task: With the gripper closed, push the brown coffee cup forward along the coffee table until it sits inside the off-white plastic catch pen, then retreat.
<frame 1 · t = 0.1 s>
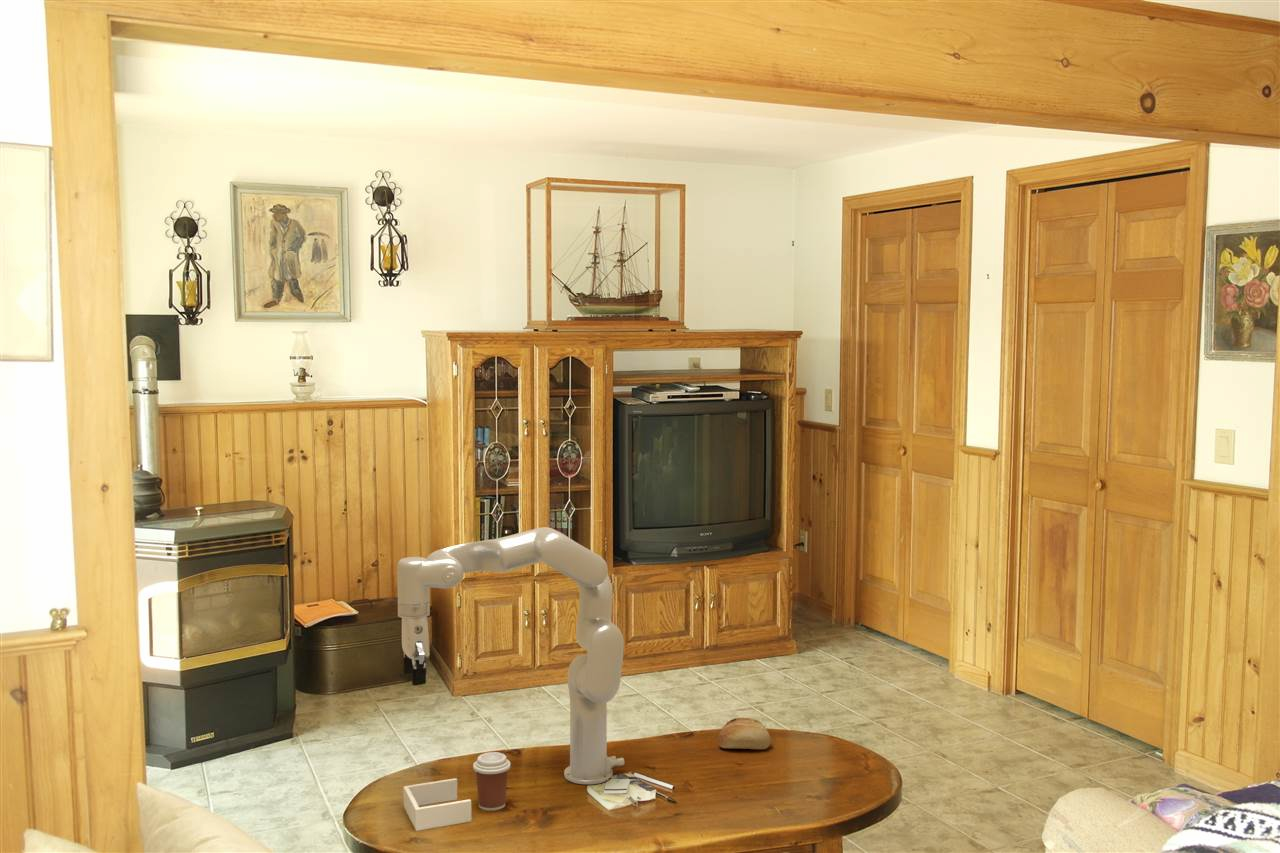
hand: (414, 678, 266), 31 cm above the table, fingers open, 9 cm apart
coffee cup: (492, 805, 268), on the table
catch pen: (435, 814, 263), on the table
bread roll: (743, 748, 307), on the table
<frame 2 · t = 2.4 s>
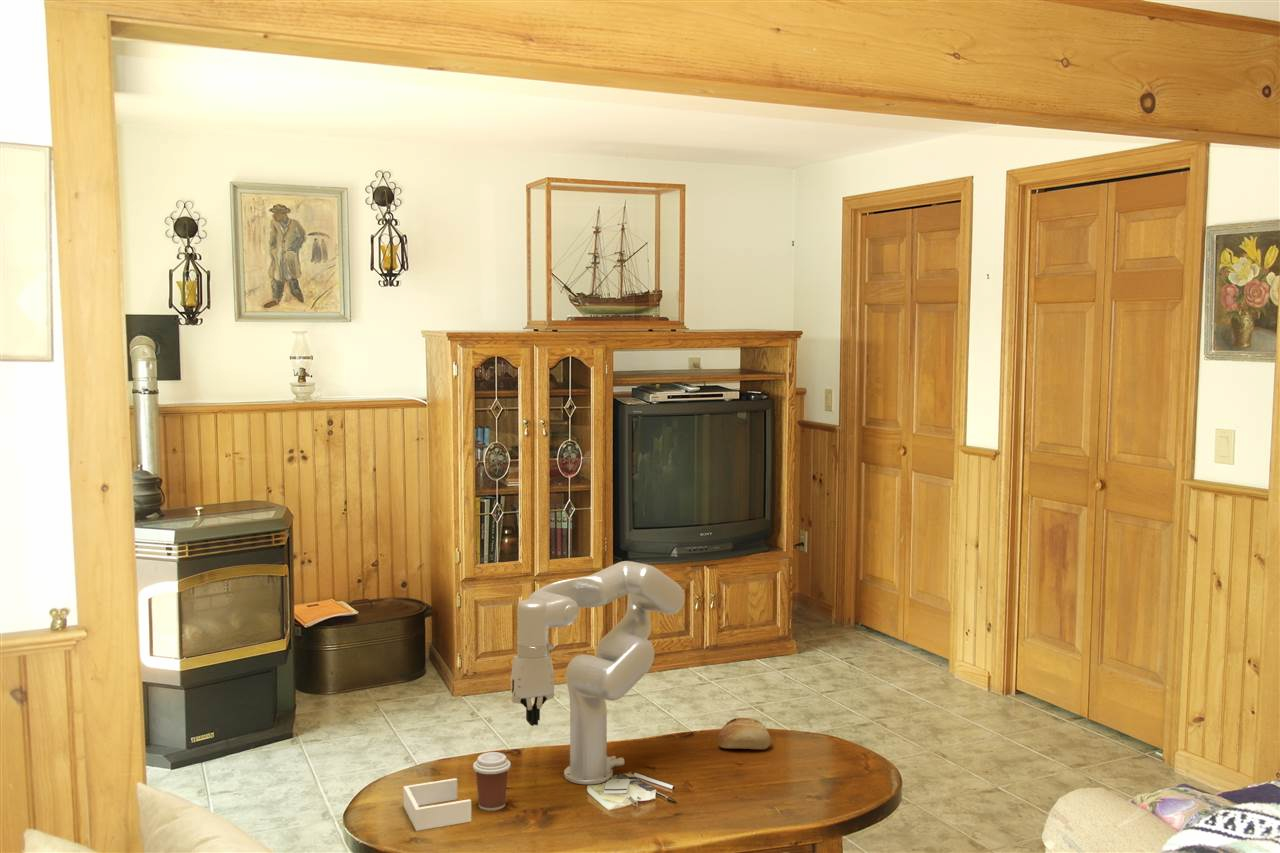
hand: (532, 723, 271), 19 cm above the table, fingers closed
nothing on the table moved.
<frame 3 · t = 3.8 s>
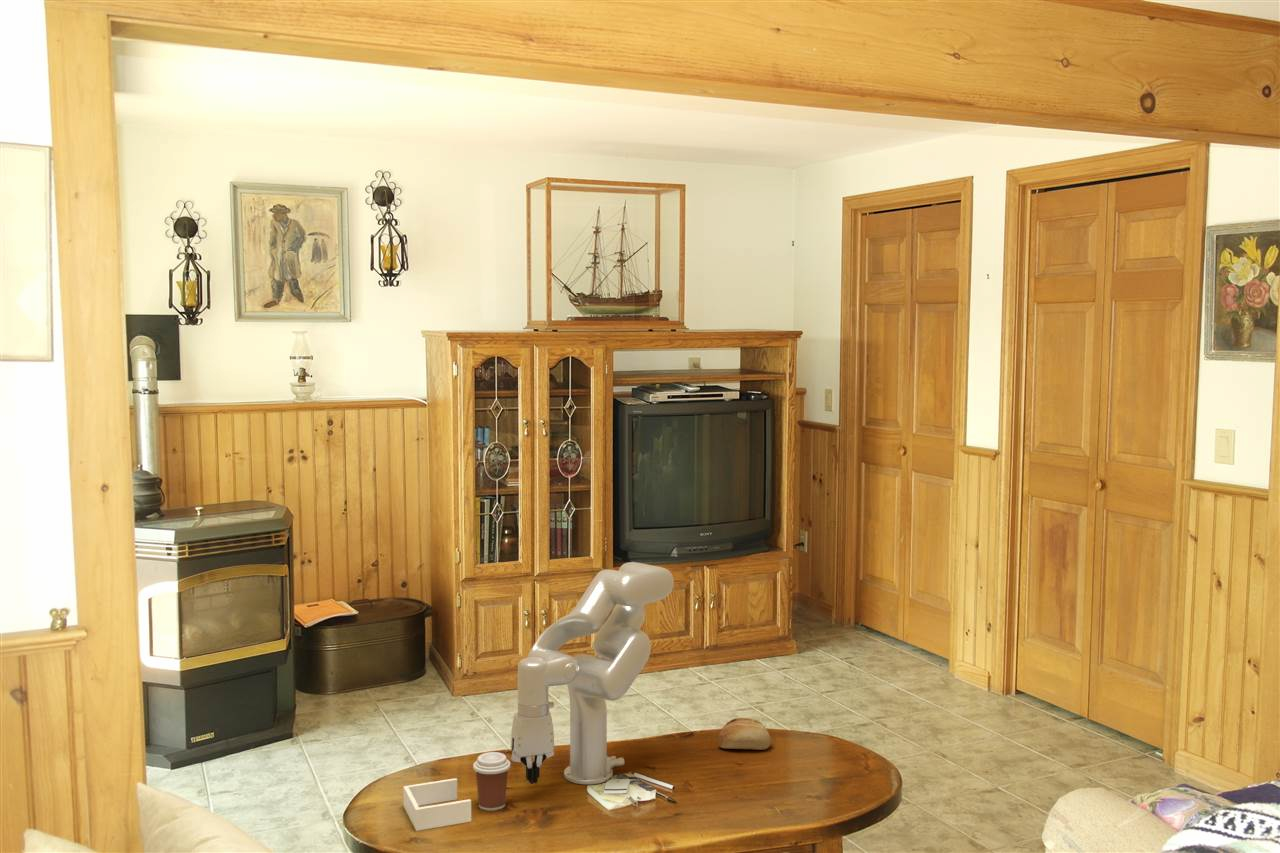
hand: (532, 781, 272), 4 cm above the table, fingers closed
nothing on the table moved.
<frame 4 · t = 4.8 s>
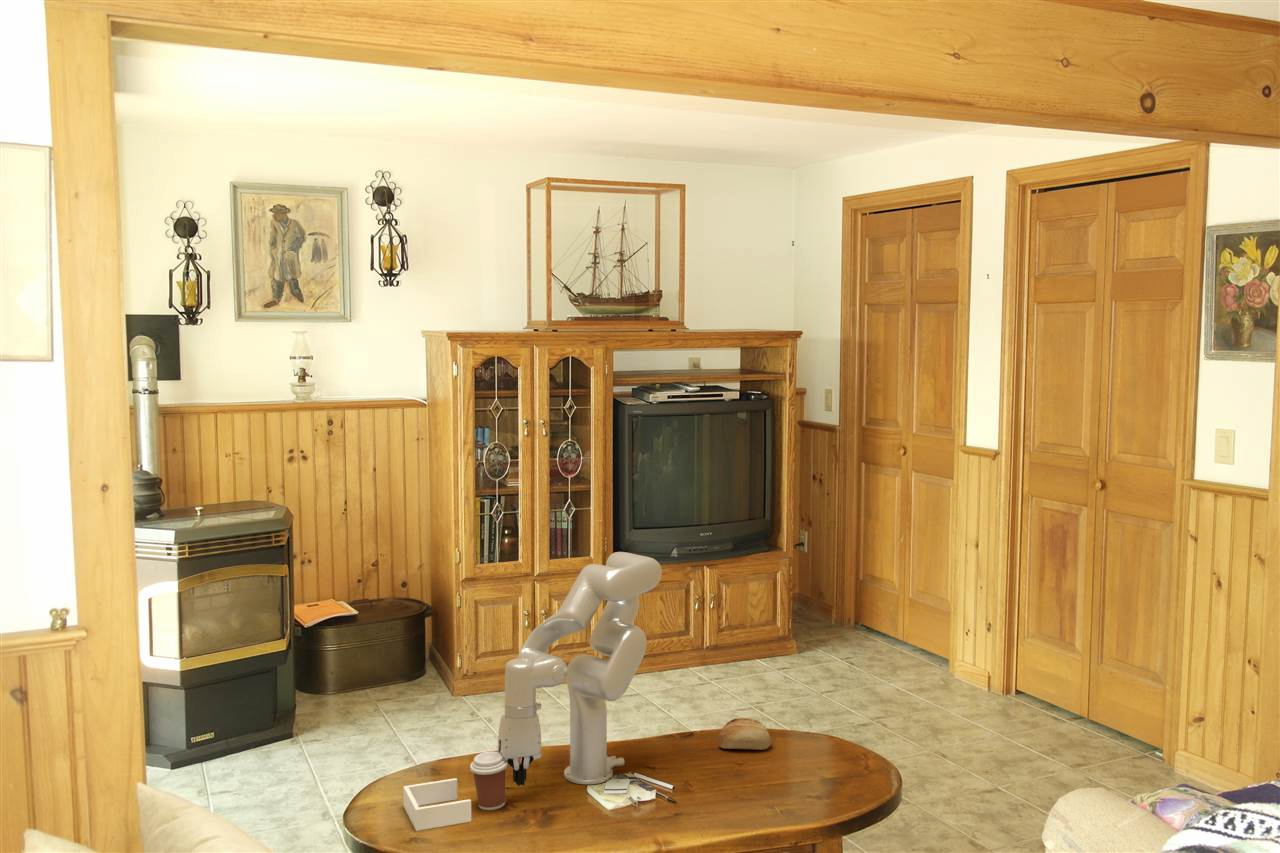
hand: (519, 783, 271), 4 cm above the table, fingers closed
coffee cup: (492, 804, 268), on the table, touching gripper
everything else where it was.
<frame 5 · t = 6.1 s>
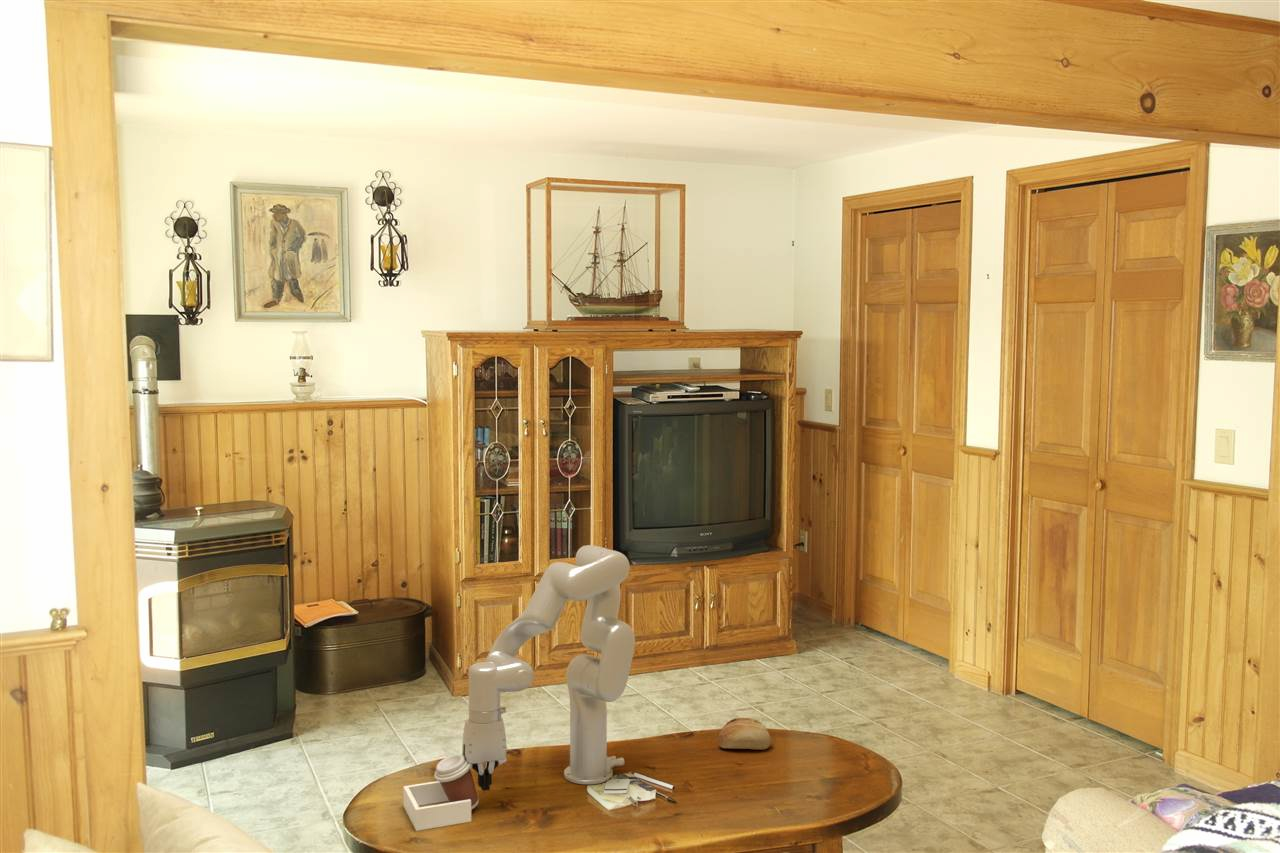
hand: (484, 788, 267), 5 cm above the table, fingers closed
coffee cup: (466, 805, 266), point 1 cm above the table, touching gripper
everything else where it was.
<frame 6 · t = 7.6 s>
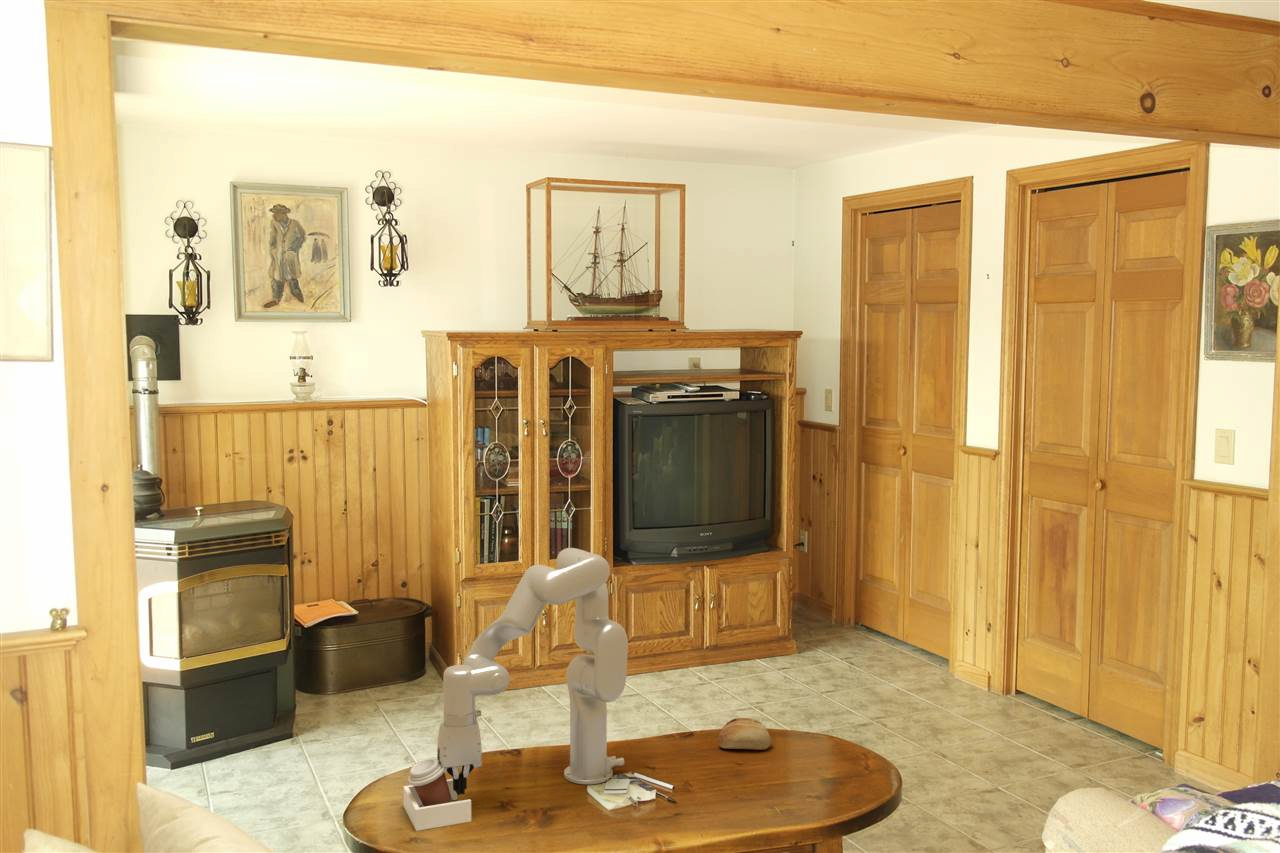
hand: (459, 792, 265), 5 cm above the table, fingers closed
coffee cup: (440, 810, 263), point 1 cm above the table, touching gripper
everything else where it was.
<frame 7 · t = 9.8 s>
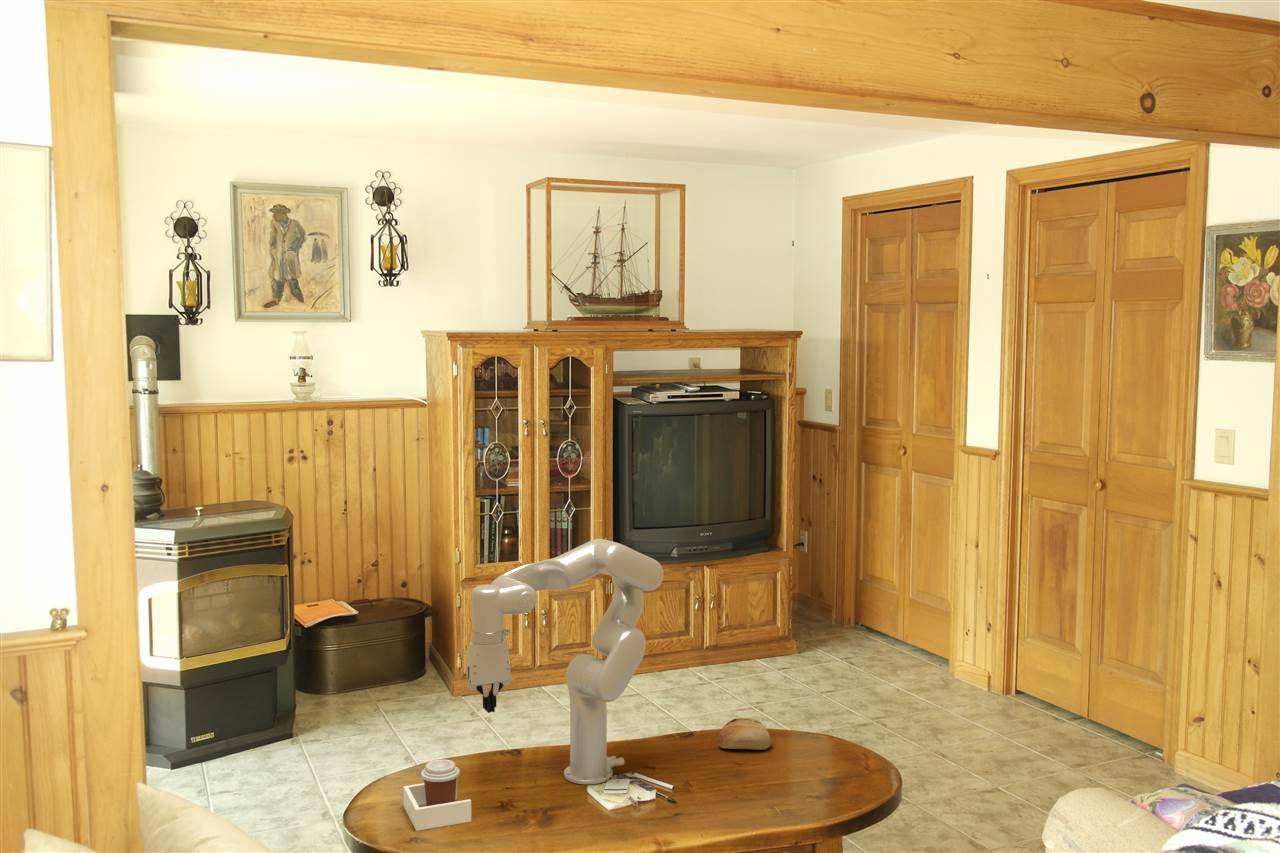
hand: (489, 710, 268), 23 cm above the table, fingers closed
coffee cup: (440, 814, 264), on the table
everything else where it was.
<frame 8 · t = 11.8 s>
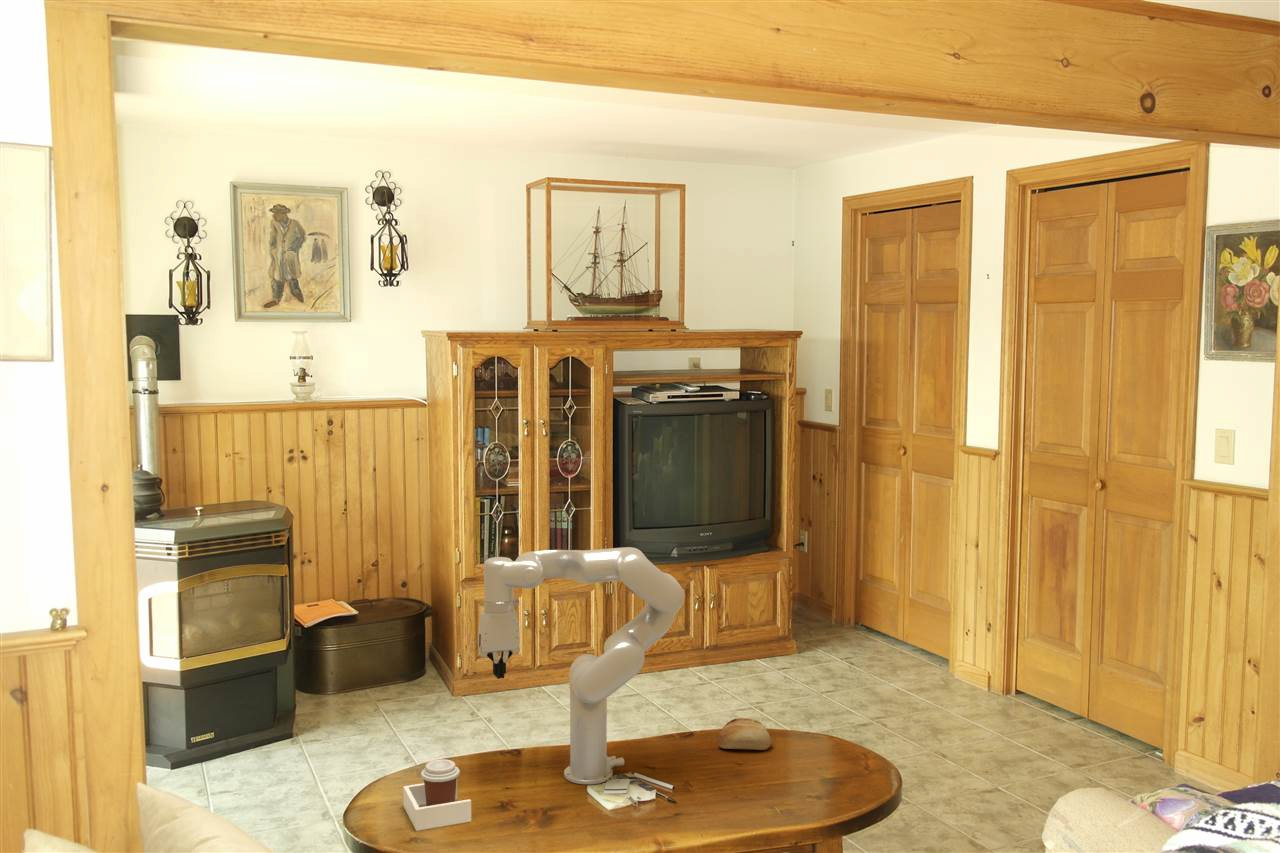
hand: (499, 676, 281), 27 cm above the table, fingers closed
nothing on the table moved.
at the end: coffee cup inside the target area (0.4 cm from its centre), on the table; coffee cup tilted 0° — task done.
